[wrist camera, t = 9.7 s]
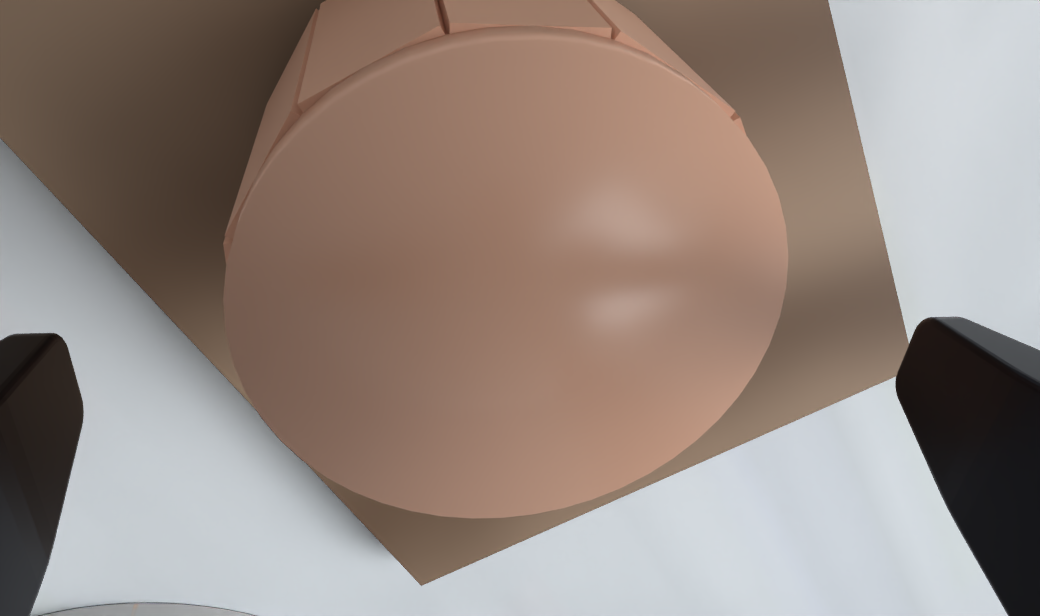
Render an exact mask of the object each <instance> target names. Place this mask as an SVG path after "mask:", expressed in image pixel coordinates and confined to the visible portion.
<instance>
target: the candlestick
mask: <svg viewBox="0 0 1040 616" xmlns="http://www.w3.org/2000/svg"><path fill="white" fill-rule="evenodd" d="M42 616H254V615H250V614H246V613H242V612H237V611H231V610H226V609H220V608H213V607H205V606H195V605H185V604H168V603H128V604H113V605H102V606H92V607H84V608H77V609H71V610H65V611H60V612H55V613H50V614H46V615H42Z"/></svg>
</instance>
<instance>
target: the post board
mask: <svg viewBox="0 0 1040 616" xmlns="http://www.w3.org/2000/svg"><path fill="white" fill-rule="evenodd" d="M324 1H326V0H0V138H1V139H2V140H3V141H4V142H5V143H6V145H7V146H8V147H9V148H10V149H11V150H12V151H13V152H14V153H15V154H16V155H17V156H18V157H19V158H20V159H21V160H22V162H23V163H24V164H25V165H26V166H27V167H28V168H29V169H30V170H31V171H32V172H33V173H34V174H35V175H36V176H37V177H38V179H39V180H40V181H41V182H42V183H43V184H44V185H45V186H46V187H47V188H48V189H49V190H50V191H51V192H52V193H53V194H54V196H55V197H56V198H57V199H58V200H59V201H60V202H61V203H62V204H63V205H64V206H65V207H66V208H67V209H68V210H69V212H70V213H71V214H72V215H73V216H74V217H75V218H76V219H77V220H78V221H79V222H80V223H81V224H82V225H83V226H84V227H85V229H86V230H87V231H88V232H89V233H90V234H91V235H92V236H93V237H94V238H95V239H96V240H97V241H98V242H99V243H100V244H101V246H102V247H103V248H104V249H105V250H106V251H107V252H108V253H109V254H110V255H111V256H112V257H113V258H114V259H115V260H116V262H117V263H118V264H119V265H120V266H121V267H122V268H123V269H124V270H125V271H126V272H127V273H128V274H129V275H130V276H131V277H132V279H133V280H134V281H135V282H136V283H137V284H138V285H139V286H140V287H141V288H142V289H143V290H144V291H145V292H146V293H147V294H148V296H149V297H150V298H151V299H152V300H153V301H154V302H155V303H156V304H157V305H158V306H159V307H160V308H161V309H162V310H163V311H164V313H165V314H166V315H167V316H168V317H169V318H170V319H171V320H172V321H173V322H174V323H175V324H176V325H177V326H178V327H179V329H180V330H181V331H182V332H183V333H184V334H185V335H186V336H187V337H188V338H189V339H190V340H191V341H192V342H193V343H194V344H195V346H196V347H197V348H198V349H199V350H200V351H201V352H202V353H203V354H204V355H205V356H206V357H207V358H208V359H209V360H210V361H211V363H212V364H213V365H214V366H215V367H216V368H217V369H218V370H219V371H220V372H221V373H222V374H223V375H224V376H225V377H226V379H227V380H228V381H229V382H230V383H231V384H232V385H233V386H234V387H235V388H236V389H237V390H238V391H239V392H240V393H241V394H242V396H243V397H244V398H245V399H246V400H247V401H248V402H249V403H250V404H251V405H252V406H253V407H254V405H253V404H252V402H251V400H250V399H249V397H248V395H247V394H246V392H245V390H244V388H243V385H242V383H241V381H240V378H239V376H238V374H237V371H236V369H235V366H234V364H233V361H232V357H231V353H230V348H229V344H228V340H227V336H226V332H225V318H224V305H223V295H224V284H225V273H226V260H225V253H224V247H223V242H224V239H225V236H224V235H225V232H226V229H227V226H228V223H229V220H230V217H231V214H232V211H233V208H234V204H235V201H236V198H237V195H238V192H239V189H240V186H241V183H242V180H243V176H244V173H245V170H246V167H247V164H248V161H249V158H250V155H251V152H252V149H253V145H254V142H255V139H256V136H257V133H258V130H259V127H260V124H261V121H262V118H263V114H264V111H265V108H266V105H267V103H268V101H269V99H270V97H271V95H272V93H273V91H274V89H275V87H276V85H277V83H278V81H279V79H280V77H281V75H282V73H283V71H284V70H285V68H286V66H287V64H288V62H289V60H290V58H291V56H292V54H293V52H294V50H295V48H296V46H297V44H298V42H299V40H300V38H301V36H302V35H303V33H304V31H305V29H306V27H307V25H308V23H309V21H310V19H311V17H312V15H313V13H314V11H315V9H317V10H319V9H320V4H321V3H322V2H324ZM615 1H617V2H618V3H620V4H621V5H622V6H624V7H625V8H627V9H628V10H629V11H631V12H632V13H634V14H635V15H636V16H637V17H638V18H639V19H640V20H641V21H642V22H643V23H644V24H645V25H646V26H647V27H649V28H650V29H651V30H652V31H653V32H654V33H655V34H656V35H657V36H658V37H659V38H660V39H661V40H662V41H663V42H664V43H665V44H666V45H667V46H668V47H669V48H670V49H671V50H673V51H674V52H675V53H676V54H677V55H678V56H679V57H680V58H681V59H682V60H683V61H684V62H685V63H686V64H687V65H688V66H689V67H690V68H691V69H692V70H693V71H694V72H695V73H697V74H698V75H699V76H700V77H701V78H702V79H703V80H704V81H705V82H706V83H707V84H708V85H709V86H710V87H711V88H712V89H713V90H714V91H715V92H716V93H717V94H718V95H719V96H720V97H722V98H723V99H724V100H725V101H726V102H727V103H728V104H729V105H730V106H731V107H732V108H733V109H734V110H735V113H736V114H737V115H738V116H739V117H740V118H741V121H742V124H743V127H744V130H745V133H746V136H747V137H748V138H749V140H750V142H751V143H752V145H753V146H754V148H755V149H756V151H757V153H758V154H759V156H760V157H761V159H762V161H763V162H764V164H765V165H766V167H767V169H768V172H769V174H770V177H771V179H772V181H773V184H774V186H775V189H776V191H777V193H778V196H779V199H780V203H781V208H782V212H783V216H784V220H785V224H786V232H787V244H788V257H789V258H788V271H787V285H786V291H785V296H784V300H783V305H782V309H781V314H780V318H779V320H778V323H777V326H776V329H775V331H774V334H773V337H772V339H771V342H770V345H769V347H768V349H767V351H766V353H765V355H764V356H763V358H762V360H761V362H760V364H759V366H758V368H757V370H756V372H755V373H754V375H753V376H752V378H751V379H750V381H749V382H748V384H747V385H746V387H745V388H744V389H743V391H742V392H741V394H740V395H739V397H738V398H737V399H736V400H735V401H734V403H733V404H732V405H731V406H730V407H729V408H728V410H727V411H726V412H725V413H724V414H723V415H722V417H721V418H720V419H719V420H718V421H717V422H716V423H715V424H714V425H713V426H711V427H710V428H709V429H708V430H707V431H706V432H705V433H704V434H703V435H702V436H701V437H700V438H699V439H698V440H697V441H695V442H694V443H693V444H691V445H690V446H689V447H687V448H686V449H685V450H684V451H682V452H681V453H680V454H678V455H677V456H676V457H675V458H673V459H672V460H670V461H668V462H667V463H665V464H664V465H662V466H660V467H659V468H657V469H656V470H654V471H653V472H651V473H649V474H648V475H646V476H644V477H642V478H640V479H638V480H636V481H634V482H632V483H630V484H628V485H626V486H624V487H622V488H620V489H618V490H615V491H613V492H610V493H608V494H605V495H602V496H600V497H597V498H595V499H592V500H589V501H586V502H583V503H579V504H576V505H572V506H569V507H566V508H562V509H557V510H552V511H547V512H543V513H538V514H533V515H524V516H515V517H506V518H473V519H471V518H457V517H444V516H436V515H431V514H425V513H419V512H413V511H409V510H405V509H402V508H398V507H394V506H391V505H387V504H383V503H381V502H378V501H375V500H373V499H370V498H368V497H365V496H363V495H360V494H358V493H355V492H353V491H351V490H349V489H347V488H345V487H344V486H342V485H340V484H338V483H336V482H334V481H332V480H330V479H328V478H327V477H325V476H324V475H323V474H321V473H320V472H318V471H317V470H315V469H314V468H312V467H311V466H310V465H308V464H307V463H306V464H307V465H308V466H309V467H310V468H311V469H312V470H313V471H314V472H315V473H316V474H317V475H318V476H319V477H320V478H321V480H322V481H323V482H324V483H325V484H326V485H327V486H328V487H329V488H330V489H331V490H332V491H333V492H334V493H335V494H336V496H337V497H338V498H339V499H340V500H341V501H342V502H343V503H344V504H345V505H346V506H347V507H348V508H349V509H350V510H351V511H352V513H353V514H354V515H355V516H356V517H357V518H358V519H359V520H360V521H361V522H362V523H363V524H364V525H365V526H366V527H367V528H368V530H369V531H370V532H371V533H372V534H373V535H374V536H375V537H376V538H377V539H378V540H379V541H380V542H381V543H382V544H383V545H384V547H385V548H386V549H387V550H388V551H389V552H390V553H391V554H392V555H393V556H394V557H395V558H396V559H397V560H398V561H399V563H400V564H401V565H402V566H403V567H404V568H405V569H406V570H407V571H408V572H409V573H410V574H411V575H412V576H413V577H414V578H415V580H416V581H417V582H418V583H419V584H420V585H421V586H422V585H424V584H426V583H429V582H431V581H433V580H435V579H438V578H440V577H442V576H444V575H447V574H449V573H451V572H454V571H456V570H458V569H460V568H463V567H465V566H467V565H469V564H472V563H474V562H476V561H478V560H481V559H483V558H485V557H488V556H490V555H492V554H494V553H497V552H499V551H501V550H503V549H506V548H508V547H510V546H512V545H515V544H517V543H519V542H522V541H524V540H526V539H528V538H531V537H533V536H535V535H537V534H540V533H542V532H544V531H546V530H549V529H551V528H553V527H555V526H558V525H560V524H562V523H565V522H567V521H569V520H571V519H574V518H576V517H578V516H580V515H583V514H585V513H587V512H589V511H592V510H594V509H596V508H599V507H601V506H603V505H605V504H608V503H610V502H612V501H614V500H617V499H619V498H621V497H623V496H626V495H628V494H630V493H633V492H635V491H637V490H639V489H642V488H644V487H646V486H648V485H651V484H653V483H655V482H657V481H660V480H662V479H664V478H667V477H669V476H671V475H673V474H676V473H678V472H680V471H682V470H685V469H687V468H689V467H691V466H694V465H696V464H698V463H701V462H703V461H705V460H707V459H710V458H712V457H714V456H716V455H719V454H721V453H723V452H725V451H728V450H730V449H732V448H735V447H737V446H739V445H741V444H744V443H746V442H748V441H750V440H753V439H755V438H757V437H759V436H762V435H764V434H766V433H768V432H771V431H773V430H775V429H778V428H780V427H782V426H784V425H787V424H789V423H791V422H793V421H796V420H798V419H800V418H802V417H805V416H807V415H809V414H812V413H814V412H816V411H818V410H821V409H823V408H825V407H827V406H830V405H832V404H834V403H836V402H839V401H841V400H843V399H846V398H848V397H850V396H852V395H855V394H857V393H859V392H861V391H864V390H866V389H868V388H870V387H873V386H875V385H877V384H880V383H882V382H884V381H886V380H889V379H891V378H893V377H895V376H897V372H898V370H899V367H900V365H901V363H902V360H903V358H904V355H905V353H906V351H907V348H908V346H909V343H908V339H907V334H906V330H905V326H904V322H903V317H902V313H901V309H900V305H899V300H898V296H897V292H896V288H895V283H894V279H893V275H892V271H891V266H890V262H889V258H888V254H887V249H886V245H885V241H884V237H883V232H882V228H881V224H880V220H879V215H878V211H877V207H876V203H875V198H874V194H873V190H872V186H871V181H870V177H869V173H868V169H867V164H866V160H865V156H864V152H863V147H862V143H861V139H860V135H859V130H858V126H857V122H856V118H855V113H854V109H853V105H852V100H851V96H850V92H849V88H848V83H847V79H846V75H845V71H844V66H843V62H842V58H841V54H840V49H839V45H838V41H837V37H836V32H835V28H834V24H833V20H832V15H831V11H830V7H829V3H828V0H615ZM254 408H255V407H254ZM255 409H256V408H255Z"/></svg>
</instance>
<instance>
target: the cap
mask: <svg viewBox="0 0 1040 616" xmlns="http://www.w3.org/2000/svg"><path fill="white" fill-rule="evenodd" d="M224 236H225V239H224V242H223V247H224V253H225V260H226V273H225V284H224V295H223V305H224V318H225V332H226V336H227V340H228V344H229V348H230V353H231V357H232V361H233V364H234V366H235V369H236V371H237V374H238V376H239V378H240V381H241V383H242V385H243V388H244V390H245V392H246V394H247V395H248V397H249V399H250V400H251V402H252V404H253V405H254V407H255V408H256V410H257V412H258V413H259V415H260V417H261V418H262V419H263V420H264V422H265V423H266V424H267V425H268V426H269V427H270V429H271V430H272V431H273V432H274V433H275V435H276V436H277V437H278V438H279V439H280V441H281V442H283V443H284V444H285V445H286V446H287V447H288V448H289V449H290V450H291V451H293V452H294V453H295V454H296V455H297V456H298V457H299V458H300V459H301V460H302V461H304V462H305V463H307V464H308V465H310V466H311V467H312V468H314V469H315V470H317V471H318V472H320V473H321V474H323V475H324V476H325V477H327V478H328V479H330V480H332V481H334V482H336V483H338V484H340V485H342V486H344V487H345V488H347V489H349V490H351V491H353V492H355V493H358V494H360V495H363V496H365V497H368V498H370V499H373V500H375V501H378V502H381V503H383V504H387V505H391V506H394V507H398V508H402V509H405V510H409V511H413V512H419V513H425V514H431V515H436V516H444V517H457V518H471V519H473V518H506V517H515V516H524V515H533V514H538V513H543V512H547V511H552V510H557V509H562V508H566V507H569V506H572V505H576V504H579V503H583V502H586V501H589V500H592V499H595V498H597V497H600V496H602V495H605V494H608V493H610V492H613V491H615V490H618V489H620V488H622V487H624V486H626V485H628V484H630V483H632V482H634V481H636V480H638V479H640V478H642V477H644V476H646V475H648V474H649V473H651V472H653V471H654V470H656V469H657V468H659V467H660V466H662V465H664V464H665V463H667V462H668V461H670V460H672V459H673V458H675V457H676V456H677V455H678V454H680V453H681V452H682V451H684V450H685V449H686V448H687V447H689V446H690V445H691V444H693V443H694V442H695V441H697V440H698V439H699V438H700V437H701V436H702V435H703V434H704V433H705V432H706V431H707V430H708V429H709V428H710V427H711V426H713V425H714V424H715V423H716V422H717V421H718V420H719V419H720V418H721V417H722V415H723V414H724V413H725V412H726V411H727V410H728V408H729V407H730V406H731V405H732V404H733V403H734V401H735V400H736V399H737V398H738V397H739V395H740V394H741V392H742V391H743V389H744V388H745V387H746V385H747V384H748V382H749V381H750V379H751V378H752V376H753V375H754V373H755V372H756V370H757V368H758V366H759V364H760V362H761V360H762V358H763V356H764V355H765V353H766V351H767V349H768V347H769V345H770V342H771V339H772V337H773V334H774V331H775V329H776V326H777V323H778V320H779V318H780V314H781V309H782V305H783V300H784V296H785V291H786V285H787V271H788V258H789V257H788V244H787V232H786V224H785V220H784V216H783V212H782V208H781V203H780V199H779V196H778V193H777V191H776V189H775V186H774V184H773V181H772V179H771V177H770V174H769V172H768V169H767V167H766V165H765V164H764V162H763V161H762V159H761V157H760V156H759V154H758V153H757V151H756V149H755V148H754V146H753V145H752V143H751V142H750V140H749V138H748V137H747V136H746V133H745V130H744V127H743V124H742V121H741V118H740V117H739V116H738V115H737V114H736V113H735V110H734V109H733V108H732V107H731V106H730V105H729V104H728V103H727V102H726V101H725V100H724V99H723V98H722V97H720V96H719V95H718V94H717V93H716V92H715V91H714V90H713V89H712V88H711V87H710V86H709V85H708V84H707V83H706V82H705V81H704V80H703V79H702V78H701V77H700V76H699V75H698V74H697V73H695V72H694V71H693V70H692V69H691V68H690V67H689V66H688V65H687V64H686V63H685V62H684V61H683V60H682V59H681V58H680V57H679V56H678V55H677V54H676V53H675V52H674V51H673V50H671V49H670V48H669V47H668V46H667V45H666V44H665V43H664V42H663V41H662V40H661V39H660V38H659V37H658V36H657V35H656V34H655V33H654V32H653V31H652V30H651V29H650V28H649V27H647V26H646V25H645V24H644V23H643V22H642V21H641V20H640V19H639V18H638V17H637V16H636V15H635V14H634V13H632V12H631V11H629V10H628V9H627V8H625V7H624V6H622V5H621V4H620V3H618V2H617V1H615V0H326V1H324V2H322V3H321V4H320V9H319V10H317V9H315V11H314V13H313V15H312V17H311V19H310V21H309V23H308V25H307V27H306V29H305V31H304V33H303V35H302V36H301V38H300V40H299V42H298V44H297V46H296V48H295V50H294V52H293V54H292V56H291V58H290V60H289V62H288V64H287V66H286V68H285V70H284V71H283V73H282V75H281V77H280V79H279V81H278V83H277V85H276V87H275V89H274V91H273V93H272V95H271V97H270V99H269V101H268V103H267V105H266V108H265V111H264V114H263V118H262V121H261V124H260V127H259V130H258V133H257V136H256V139H255V142H254V145H253V149H252V152H251V155H250V158H249V161H248V164H247V167H246V170H245V173H244V176H243V180H242V183H241V186H240V189H239V192H238V195H237V198H236V201H235V204H234V208H233V211H232V214H231V217H230V220H229V223H228V226H227V229H226V232H225V235H224Z"/></svg>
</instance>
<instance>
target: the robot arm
mask: <svg viewBox="0 0 1040 616" xmlns="http://www.w3.org/2000/svg"><path fill="white" fill-rule="evenodd" d="M896 392H897V396H898V399H899V401H900V404H901V406H902V408H903V410H904V413H905V415H906V417H907V419H908V422H909V424H910V426H911V428H912V431H913V433H914V435H915V437H916V440H917V442H918V444H919V446H920V449H921V451H922V453H923V455H924V458H925V460H926V462H927V464H928V466H929V469H930V471H931V473H932V475H933V478H934V480H935V482H936V484H937V487H938V489H939V491H940V493H941V495H942V498H943V500H944V502H945V504H946V506H947V508H948V510H949V512H950V514H951V516H952V517H953V519H954V521H955V523H956V525H957V527H958V529H959V530H960V532H961V534H962V536H963V537H964V539H965V541H966V543H967V544H968V546H969V548H970V550H971V551H972V553H973V555H974V557H975V558H976V560H977V562H978V564H979V565H980V567H981V569H982V571H983V572H984V574H985V576H986V578H987V579H988V581H989V583H990V585H991V586H992V588H993V590H994V592H995V593H996V595H997V597H998V599H999V600H1000V602H1001V604H1002V606H1003V607H1004V609H1005V611H1006V613H1007V614H1008V616H1040V350H1038V349H1035V348H1033V347H1031V346H1028V345H1026V344H1024V343H1021V342H1019V341H1017V340H1014V339H1012V338H1010V337H1007V336H1005V335H1003V334H1000V333H998V332H996V331H993V330H991V329H989V328H986V327H984V326H981V325H979V324H977V323H974V322H972V321H970V320H967V319H965V318H961V317H930V318H927V319H924V320H923V321H921V322H920V323H919V325H918V326H917V327H916V329H915V331H914V334H913V336H912V339H911V341H910V343H909V346H908V348H907V351H906V353H905V355H904V358H903V360H902V363H901V365H900V367H899V370H898V372H897V376H896ZM82 424H83V401H82V397H81V393H80V390H79V386H78V383H77V379H76V375H75V372H74V368H73V365H72V361H71V358H70V354H69V350H68V347H67V345H66V343H65V341H64V340H63V338H62V337H60V336H59V335H57V334H55V333H29V334H13V335H10V336H8V337H6V338H4V339H2V340H0V616H30V613H31V611H32V608H33V605H34V603H35V600H36V597H37V595H38V592H39V589H40V587H41V584H42V581H43V578H44V575H45V572H46V569H47V566H48V563H49V560H50V556H51V552H52V549H53V545H54V541H55V537H56V533H57V529H58V525H59V520H60V516H61V512H62V508H63V504H64V500H65V495H66V491H67V487H68V483H69V479H70V475H71V470H72V466H73V462H74V458H75V454H76V450H77V445H78V441H79V437H80V433H81V429H82Z"/></svg>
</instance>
